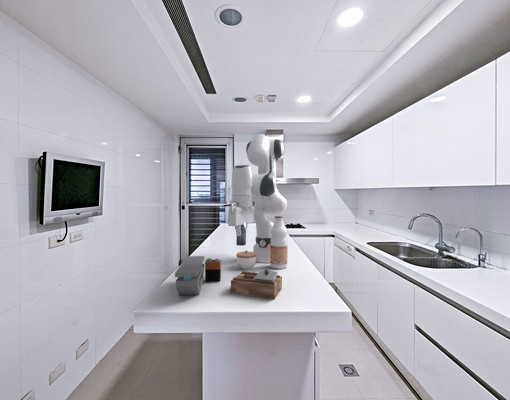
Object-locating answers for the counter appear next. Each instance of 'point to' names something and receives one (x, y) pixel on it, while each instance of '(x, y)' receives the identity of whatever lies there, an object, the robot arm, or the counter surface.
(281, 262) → the fruit juice
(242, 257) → the lidded jar
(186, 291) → the grey storage box
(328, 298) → the counter surface
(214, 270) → the battery
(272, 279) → the square lid with knob
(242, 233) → the grey rounded cylinder
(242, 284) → the socket block
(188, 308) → the counter surface
